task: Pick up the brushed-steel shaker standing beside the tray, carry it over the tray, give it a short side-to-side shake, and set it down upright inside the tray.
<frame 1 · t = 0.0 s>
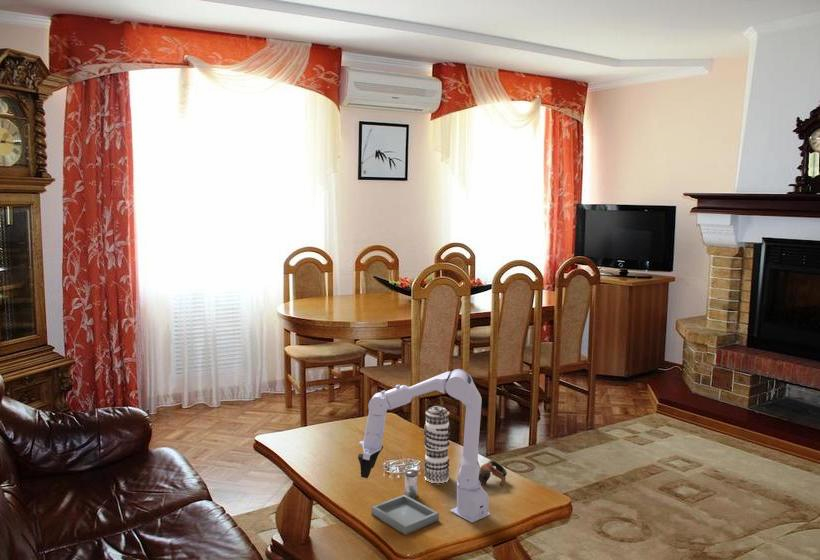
hand: (367, 472, 211), 11 cm above the table, tool pointing down, fingers open, 7 cm apart
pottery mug: (488, 484, 228), on the table
shaker: (411, 495, 218), on the table
tray: (404, 517, 204), on the table
decorative candle: (436, 479, 231), on the table
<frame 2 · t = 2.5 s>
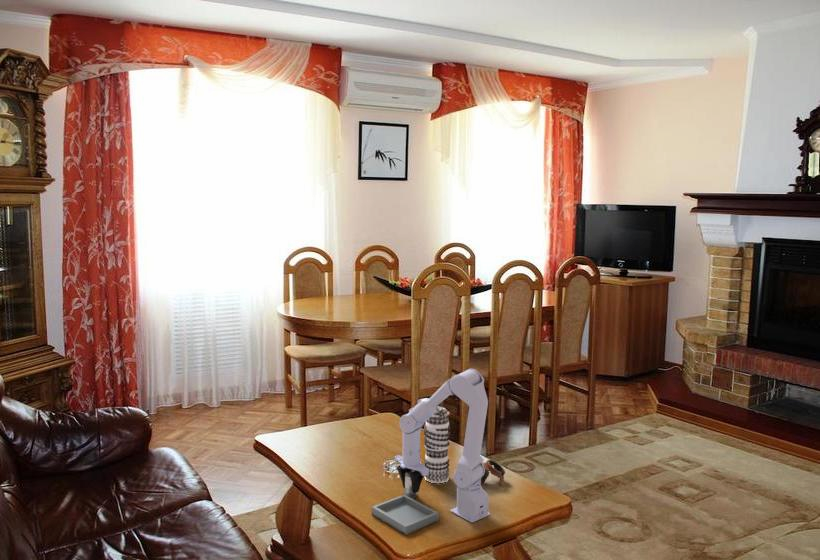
hand: (411, 489, 218), 2 cm above the table, tool pointing down, fingers closed on shaker, 4 cm apart
shaker: (411, 495, 218), on the table, touching gripper
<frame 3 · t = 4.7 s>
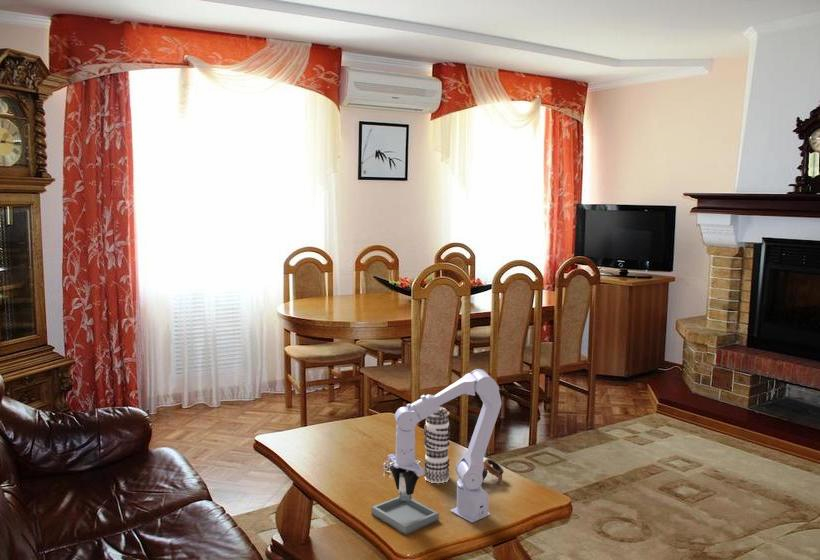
hand: (405, 491, 202), 8 cm above the table, tool pointing down, fingers closed on shaker, 4 cm apart
shaker: (405, 497, 203), point 6 cm above the table, touching gripper
when the fingers open (4 cm above the table, at t = 7.2 s): shaker drops 1 cm, resting on tray.
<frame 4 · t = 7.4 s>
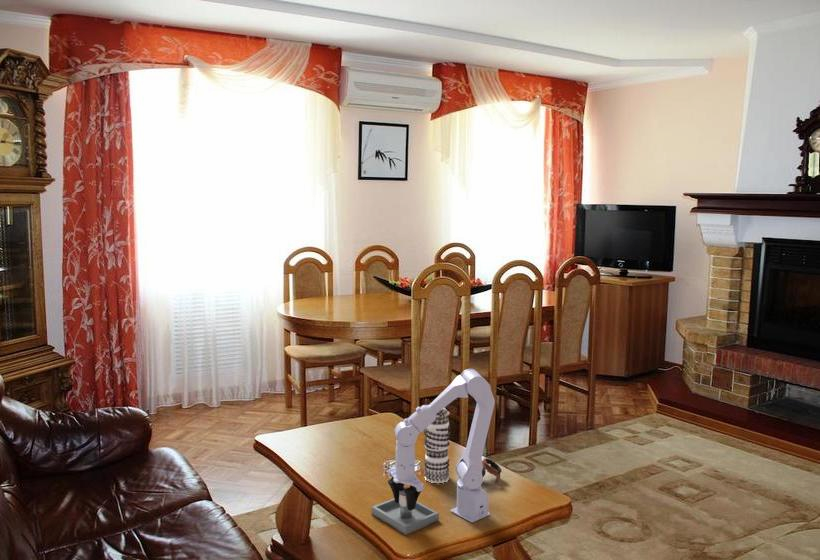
hand: (405, 505, 203), 4 cm above the table, tool pointing down, fingers open, 5 cm apart
shaker: (405, 515, 204), point 1 cm above the table, touching tray
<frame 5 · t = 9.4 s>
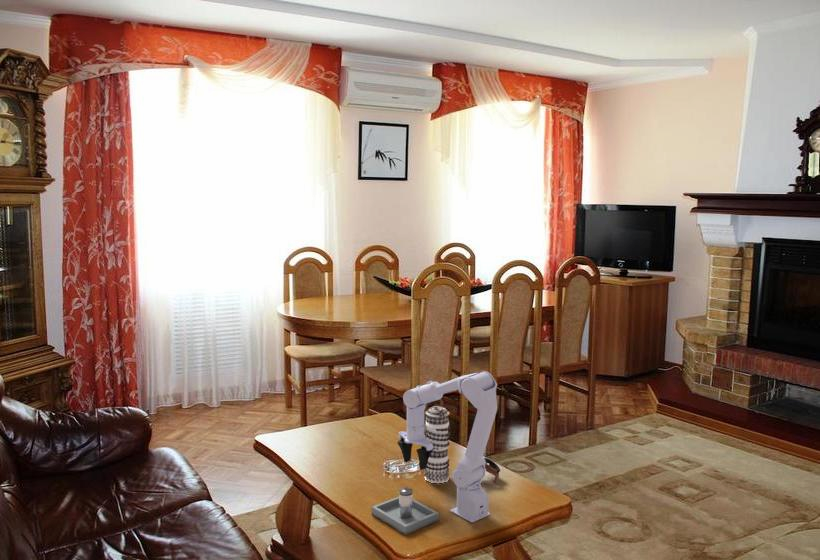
hand: (415, 465, 219), 9 cm above the table, tool pointing down, fingers open, 7 cm apart
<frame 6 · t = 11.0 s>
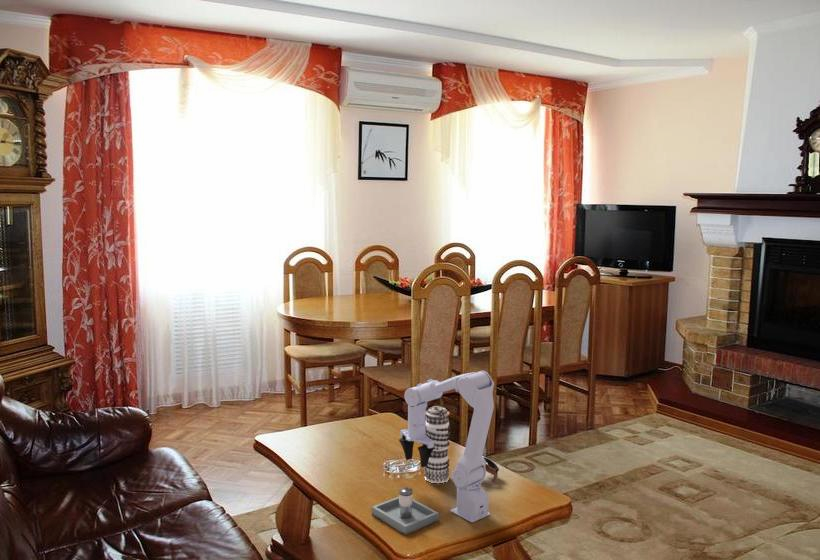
hand: (416, 462, 221), 9 cm above the table, tool pointing down, fingers open, 7 cm apart
at the end: shaker inside the target area on the tray (0.2 cm from its centre), point 0.6 cm above the tray's base; shaker tilted 0°; the gripper is holding nothing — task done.
